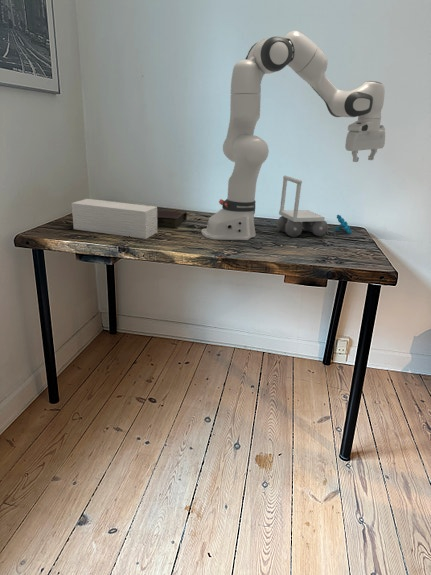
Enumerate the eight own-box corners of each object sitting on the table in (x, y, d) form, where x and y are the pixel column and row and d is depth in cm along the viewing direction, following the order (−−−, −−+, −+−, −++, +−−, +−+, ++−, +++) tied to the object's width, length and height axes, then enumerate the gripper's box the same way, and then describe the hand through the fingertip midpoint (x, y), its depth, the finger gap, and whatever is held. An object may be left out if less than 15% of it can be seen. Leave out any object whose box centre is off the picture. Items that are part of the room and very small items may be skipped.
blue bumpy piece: (350, 232, 176) (337, 213, 177) (338, 240, 179) (325, 222, 180) (355, 231, 185) (342, 213, 187) (343, 238, 188) (331, 221, 190)
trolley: (288, 238, 168) (295, 180, 159) (274, 230, 181) (279, 175, 172) (328, 237, 174) (337, 180, 165) (312, 228, 186) (320, 175, 177)
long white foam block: (157, 232, 168) (157, 206, 164) (145, 239, 158) (145, 211, 154) (88, 224, 176) (86, 198, 172) (73, 229, 166) (71, 202, 162)
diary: (135, 216, 195) (135, 206, 193) (186, 221, 191) (186, 210, 189) (120, 225, 177) (119, 213, 176) (176, 230, 174) (176, 218, 172)
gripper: (378, 124, 175) (373, 158, 181) (345, 126, 165) (340, 161, 171) (391, 125, 170) (385, 159, 176) (357, 127, 160) (352, 163, 166)
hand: (363, 160), depth 173 cm, fingers open, 8 cm apart
